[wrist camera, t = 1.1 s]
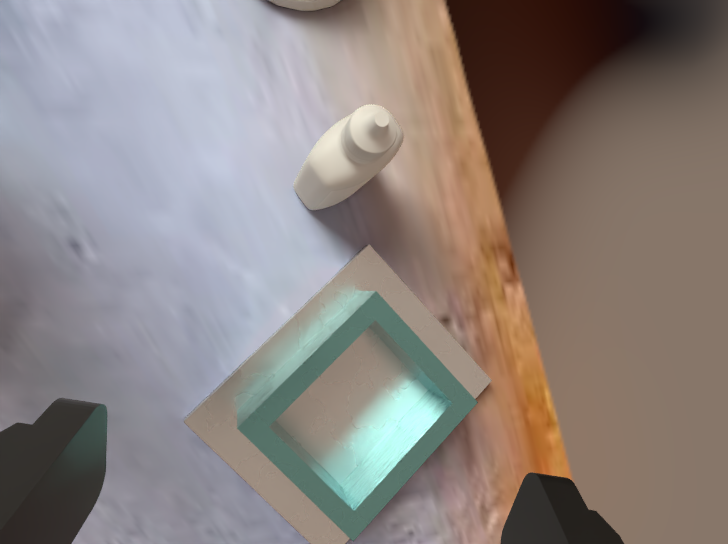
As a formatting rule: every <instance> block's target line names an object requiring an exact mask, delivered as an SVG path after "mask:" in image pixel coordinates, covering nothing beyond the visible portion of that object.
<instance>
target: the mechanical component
mask: <svg viewBox="0 0 728 544" xmlns="http://www.w3.org/2000/svg"><path fill="white" fill-rule="evenodd" d="M269 1H271V2H272V3H274V4H276V5H278V6H282V7H287V8H291V9H296V10H300V11H315V10H319V9H323V8H327V7H331V6H333V5H335V4H337V3H338V2H340V1H341V0H269Z"/></svg>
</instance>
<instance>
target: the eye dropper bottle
mask: <svg viewBox="0 0 728 544" xmlns="http://www.w3.org/2000/svg"><path fill="white" fill-rule="evenodd" d="M403 138H404V134H403V131H402V129H401V127H400V125H399V124H398V122H397V121H396V119H395V118H394V117H393V115H392V114H391V113H390V112H389V111H388V110H387V109H385V108H383V107H381V106H378V105H373V104H372V105H371V104H370V105H368V104H367V105H365V106H362V107H360V108H358V109H357V110H356V111H354V113H353V114H352V115H349V116H347V117H345V118H344V119H342V120H340V121H339V122H337V123H336V124H335V125H333V126H332V127H331V128H330V129H329V130H328V131H327V132H326V133H325V134H324V135H323V136H322V137H321V138H320V139H319V141H318V142H317V143H316V144H315V146H314V147H313V149H312V150H311V152H310V154H309V155H308V157H307V159H306V160H305V162H304V164H303V166H302V168H301V170H300V172H299V174H298V175H297V177H296V179H295V181H294V185H293V187H294V190H295V192H296V193H297V195H298V196H299V198H300V199H301V200H302V202H303V203H304V205H305V206H306V207H307V208H308V209H310V210H319V209H324V208H327V207H330V206H333V205H335V204H338V203H340V202H342V201H343V200H345V199H346V198H348V197H349V196H351V195H352V194H353V193H355V192H356V191H357V190H358V189H359V188H361V187H362V186H363V185H364V184H365V183H367V182H368V181H369V180H370V179H371V178H373V177H374V176H375V175H376V174H377V173H379V172H380V171H381V170H382V169H383V168H384V167H385V166H386V165H387V164H388V163H389V162H390V161H391V160H392V159H393V157H394V156H395V155H396V153H397V152H398V150H399V148H400V146H401V144H402V142H403Z"/></svg>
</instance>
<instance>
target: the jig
mask: <svg viewBox="0 0 728 544" xmlns="http://www.w3.org/2000/svg"><path fill="white" fill-rule="evenodd" d="M491 381H492V380H491V379H490V378H489V377H488V376H487V375H486V374H485V372H484V371H483V370H482V369H481V368H480V367H479V366H478V365H477V364H476V362H475V361H474V360H473V359H472V358H471V357H470V356H469V355H468V354H467V352H466V351H465V350H464V349H463V348H462V347H461V346H460V345H459V344H458V342H457V341H456V340H455V339H454V338H453V337H452V336H451V335H450V334H449V332H448V331H447V330H446V329H445V328H444V327H443V326H442V325H441V324H440V322H439V321H438V320H437V319H436V318H435V317H434V316H433V315H432V313H431V312H430V311H429V310H428V309H427V308H426V307H425V306H424V305H423V303H422V302H421V301H420V300H419V299H418V298H417V297H416V296H415V295H414V293H413V292H412V291H411V290H410V289H409V288H408V287H407V286H406V285H405V283H404V282H403V281H402V280H401V279H400V278H399V277H398V276H397V275H396V273H395V272H394V271H393V270H392V269H391V268H390V267H389V266H388V265H387V263H386V262H385V261H384V260H383V259H382V258H381V257H380V256H379V255H378V253H377V252H376V251H375V250H374V249H373V248H372V247H371V246H370V245H366V246H365V247H364V248H363V249H362V250H361V251H360V252H359V253H358V254H357V255H356V256H354V257H353V258H352V259H351V260H350V261H349V262H348V263H347V264H346V265H345V266H344V267H343V268H342V269H341V270H340V271H339V272H338V273H337V274H336V275H335V276H333V277H332V278H331V279H330V280H329V281H328V282H327V283H326V284H325V285H324V286H323V287H322V288H321V289H320V290H319V291H318V292H317V293H316V294H315V295H314V296H312V297H311V298H310V299H309V300H308V301H307V302H306V303H305V304H304V305H303V306H302V307H301V308H300V309H299V310H298V311H297V312H296V313H295V314H294V315H293V316H292V317H290V318H289V319H288V320H287V321H286V322H285V323H284V324H283V325H282V326H281V327H280V328H279V329H278V330H277V331H276V332H275V333H274V334H273V335H272V336H271V337H269V338H268V339H267V340H266V341H265V342H264V343H263V344H262V345H261V346H260V347H259V348H258V349H257V350H256V351H255V352H254V353H253V354H252V355H251V356H250V357H249V358H247V359H246V360H245V361H244V362H243V363H242V364H241V365H240V366H239V367H238V368H237V369H236V370H235V371H234V372H233V373H232V374H231V375H230V376H229V377H228V378H226V379H225V380H224V381H223V382H222V383H221V384H220V385H219V386H218V387H217V388H216V389H215V390H214V391H213V392H212V393H211V394H210V395H209V396H208V397H207V398H206V399H204V400H203V401H202V402H201V403H200V404H199V405H198V406H197V407H196V408H195V409H194V410H193V411H192V412H191V413H190V414H189V415H188V416H187V417H186V418H185V420H184V423H185V424H186V425H187V426H188V427H189V428H190V429H192V430H193V431H194V432H195V433H196V434H197V435H198V436H199V437H200V438H201V439H202V440H203V441H204V442H205V443H206V444H207V445H208V446H209V447H210V448H211V449H212V450H213V451H214V452H216V453H217V454H218V455H219V456H220V457H221V458H222V459H223V460H224V461H225V462H226V463H227V464H228V465H229V466H230V467H231V468H232V469H233V470H234V471H235V472H236V473H237V474H238V475H240V476H241V477H242V478H243V479H244V480H245V481H246V482H247V483H248V484H249V485H250V486H251V487H252V488H253V489H254V490H255V491H256V492H257V493H258V494H259V495H260V496H261V497H262V498H264V499H265V500H266V501H267V502H268V503H269V504H270V505H271V506H272V507H273V508H274V509H275V510H276V511H277V512H278V513H279V514H280V515H281V516H282V517H283V518H284V519H285V520H286V521H288V522H289V523H290V524H291V525H292V526H293V527H294V528H295V529H296V530H297V531H298V532H299V533H300V534H301V535H302V536H303V537H304V538H305V539H306V540H307V541H308V542H309V543H310V544H345V543H346V542H347V541H348V540H349V539H351V540H352V541H354V540H355V539H356V538H357V537H358V536H359V534H360V533H361V532H362V531H363V530H364V529H365V528H366V527H367V526H368V524H369V523H370V522H371V521H372V520H373V519H374V518H375V517H376V515H377V514H378V513H379V512H380V511H381V510H382V509H383V508H384V507H385V505H386V504H387V503H388V502H389V501H390V500H391V499H392V498H393V497H394V495H395V494H396V493H397V492H398V491H399V490H400V489H401V488H402V486H403V485H404V484H405V483H406V482H407V481H408V480H409V479H410V478H411V476H412V475H413V474H414V473H415V472H416V471H417V470H418V469H419V468H420V466H421V465H422V464H423V463H424V462H425V461H426V460H427V459H428V457H429V456H430V455H431V454H432V453H433V452H434V451H435V450H436V449H437V447H438V446H439V445H440V444H441V443H442V442H443V441H444V440H445V439H446V437H447V436H448V435H449V434H450V433H451V432H452V431H453V430H454V428H455V427H456V426H457V425H458V424H459V423H460V422H461V421H462V420H463V418H464V417H465V416H466V415H467V414H468V413H469V412H470V411H471V409H472V408H473V407H474V406H475V405H476V404H477V403H478V402H477V401H476V400H475V399H476V398H477V397H478V395H479V394H480V393H481V392H482V391H483V390H484V389H485V388H486V387H487V385H488V384H489V383H490V382H491Z"/></svg>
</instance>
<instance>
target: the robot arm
mask: <svg viewBox="0 0 728 544" xmlns="http://www.w3.org/2000/svg"><path fill="white" fill-rule="evenodd" d="M106 442H107V409H106V406H105V405H103V404H97V403H91V402H85V401H78V400H72V399H65V398H59V399H57V400H56V401H54V402H53V403H52V404H51V405H50V406H49V407H48V409H47V410H46V411H45V412H44V413H43V414H42V415H41V416H40V417H39V418H38V419H37V420H36V422H35V423H34V424H33V425H30V424H24V423H16V424H14V425H12V426H10V427H9V428H7V429H5V430H3V431H2V432H0V544H71V543H72V542H73V540H74V538H75V537H76V535H77V533H78V532H79V530H80V528H81V527H82V525H83V524H84V522H85V520H86V519H87V517H88V515H89V514H90V512H91V510H92V509H93V507H94V505H95V503H96V501H97V499H98V497H99V494H100V491H101V489H102V485H103V482H104V477H105V472H106ZM501 544H624V543H623V541H622V539H621V537H620V536H619V535H618V534H617V533H616V532H615V530H614V529H613V528H612V527H611V526H610V525H609V524H608V523H607V522H606V521H605V520H604V519H603V518H602V517H601V516H600V515H599V514H598V513H597V512H596V511H593V510H588V508H587V506H586V504H585V503H584V501H583V499H582V497H581V495H580V493H579V491H578V489H577V488H576V486H575V484H574V483H573V482H572V480H570V479H568V478H564V477H558V476H551V475H545V474H538V473H528V474H527V475H526V476H525V478H524V480H523V482H522V484H521V487H520V489H519V491H518V494H517V496H516V499H515V501H514V503H513V506H512V508H511V511H510V513H509V515H508V518H507V520H506V523H505V525H504V528H503V531H502V536H501Z"/></svg>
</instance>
